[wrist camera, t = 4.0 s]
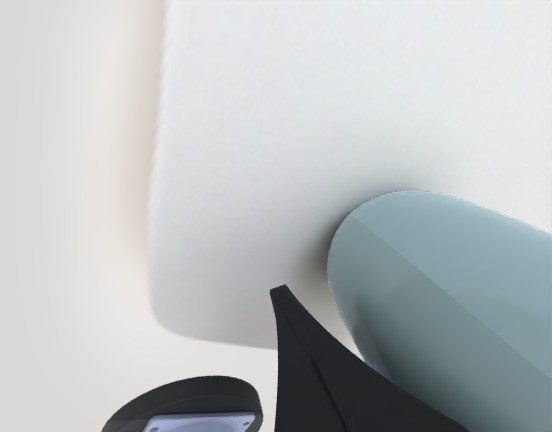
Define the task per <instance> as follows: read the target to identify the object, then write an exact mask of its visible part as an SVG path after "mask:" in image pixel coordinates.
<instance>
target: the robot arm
mask: <svg viewBox="0 0 552 432" xmlns="http://www.w3.org/2000/svg"><path fill="white" fill-rule="evenodd" d="M270 296H271V300H272V304H273V308H274V313H275V317H276V325H277V338H278V387H277V404H276V418H275V429H274V432H469V431H468V430H467V429H466V428H465V427H464V426H463V425H461V424H459V423H458V422H456V421H454V420H452V419H451V418H449V417H447V416H445V415H444V414H442V413H440V412H438V411H437V410H435V409H433V408H432V407H430V406H428V405H427V404H425V403H423V402H422V401H420V400H419V399H417V398H416V397H414V396H412V395H411V394H409V393H408V392H406V391H404V390H403V389H402V388H400V387H399V386H397V385H396V384H394V383H393V382H391V381H390V380H388V379H387V378H385V377H384V376H383V375H381V374H380V373H378V372H377V371H375V370H374V369H373V368H371V367H370V366H369V365H367V364H366V363H365V362H363V361H362V360H361V359H360V358H358V357H357V356H356V355H354V354H353V353H352V352H351V351H350V350H348V349H347V348H346V347H345V346H344V345H342V344H341V343H340V342H339V341H338V340H337V339H336V338H334V337H333V336H332V335H331V334H330V333H329V332H328V331H327V330H326V329H325V328H324V327H323V326H322V325H321V324H320V323H319V322H318V321H317V320H316V319H315V318H314V317H313V316H312V315H311V314H310V313H309V312H308V311H307V310H306V309H305V308H304V307H303V306H302V304H301V303H300V302H299V301H298V300H297V299H296V297H295V296H294V295H293V294H292V292H291V291H290V290H289V288H288V287H287V286H286V284H285V285H282V286H279V287H276V288H273V289H270ZM254 419H255V415H254V412H251V411H248V412H221V413H193V414H166V415H156V416H154V417H152V418H151V419H150V420H149V422H148V423H147V425H146V427H145V428H144V430H143V431H142V432H245V430H246V429H247V428H248V427H249V426H250V424H251V423H252V422H253V421H254Z"/></svg>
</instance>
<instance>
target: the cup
mask: <svg viewBox="0 0 552 432" xmlns="http://www.w3.org/2000/svg"><path fill="white" fill-rule="evenodd" d="M327 277H328V283H329V288H330V292H331V295H332V298H333V301H334V303H335V306H336V308H337V310H338V313H339V315H340V317H341V319H342V321H343V323H344V325H345V327H346V329H347V331H348V333H349V335H350V337H351V339H352V340H353V342H354V344H355V346H356V348H357V350H358V351H359V353H360V355H361V356H362V358H363V360H364V362H365V363H366V364H367V365H369V366H370V367H371V368H373V369H374V370H375V371H377V372H378V373H380V374H381V375H383V376H384V377H385V378H387V379H388V380H390V381H391V382H393V383H394V384H396V385H397V386H399V387H400V388H402V389H403V390H404V391H406V392H408V393H409V394H411V395H412V396H414V397H416V398H417V399H419V400H420V401H422V402H423V403H425V404H427V405H428V406H430V407H432V408H433V409H435V410H437V411H438V412H440V413H442V414H444V415H445V416H447V417H449V418H451V419H452V420H454V421H456V422H458V423H459V424H461V425H463V426H464V427H465V428H466V429H467V430H468V431H469V432H552V234H551V233H549V232H547V231H544V230H542V229H539V228H537V227H535V226H532V225H530V224H528V223H525V222H523V221H520V220H518V219H515V218H513V217H510V216H508V215H505V214H503V213H500V212H498V211H495V210H492V209H489V208H487V207H484V206H481V205H478V204H476V203H473V202H469V201H466V200H463V199H459V198H456V197H452V196H448V195H443V194H439V193H434V192H428V191H419V190H407V191H396V192H391V193H386V194H383V195H380V196H377V197H375V198H372V199H370V200H368V201H366V202H365V203H363V204H361V205H359V206H358V207H357V208H355V209H354V210H353V211H352V212H351V213H349V214H348V216H347V217H346V218H345V219H344V220H343V221H342V223H341V224H340V226H339V227H338V229H337V231H336V232H335V235H334V237H333V240H332V242H331V245H330V249H329V253H328V258H327Z"/></svg>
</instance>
